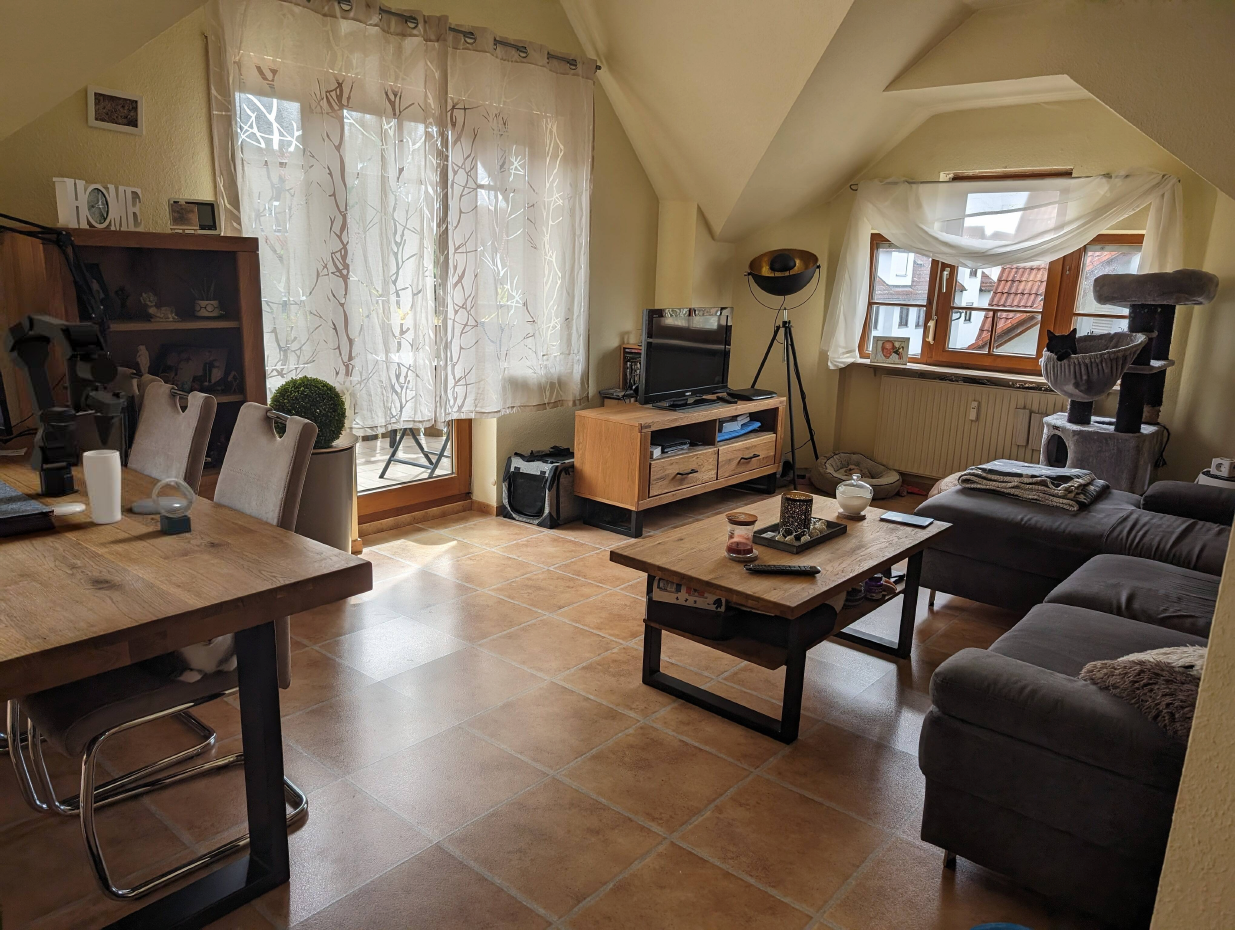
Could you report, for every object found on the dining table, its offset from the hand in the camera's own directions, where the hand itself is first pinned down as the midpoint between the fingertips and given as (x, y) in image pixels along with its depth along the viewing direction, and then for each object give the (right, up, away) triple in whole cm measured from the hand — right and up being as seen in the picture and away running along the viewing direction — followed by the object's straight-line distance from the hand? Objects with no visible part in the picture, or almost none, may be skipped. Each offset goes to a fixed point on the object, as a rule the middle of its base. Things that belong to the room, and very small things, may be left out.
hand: (88, 449), depth 195 cm
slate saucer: (+15, -13, +2) cm, 20 cm away
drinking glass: (+10, -16, -10) cm, 21 cm away
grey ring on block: (+27, -17, -15) cm, 35 cm away
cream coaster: (-4, -14, -3) cm, 14 cm away
